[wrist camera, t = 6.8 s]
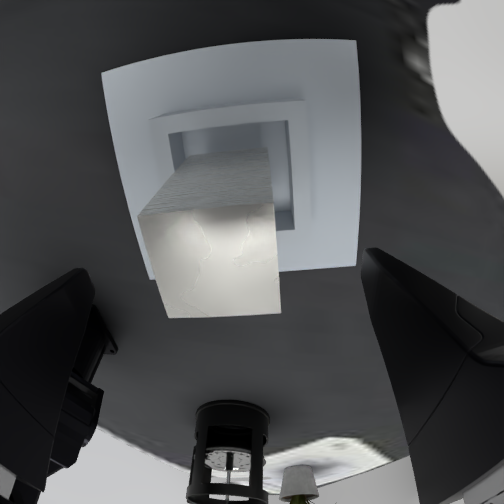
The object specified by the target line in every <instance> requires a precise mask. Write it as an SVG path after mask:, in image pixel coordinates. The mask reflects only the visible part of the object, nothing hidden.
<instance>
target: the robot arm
mask: <svg viewBox="0 0 504 504" xmlns="http://www.w3.org/2000/svg"><path fill="white" fill-rule="evenodd" d="M361 279H362V284H363V288H364V292H365V296H366V301H367V305H368V310H369V314H370V318H371V322H372V325H373V328H374V331H375V334H376V337H377V340H378V343H379V346H380V349H381V352H382V355H383V358H384V362H385V365H386V368H387V371H388V375H389V378H390V381H391V385H392V388H393V391H394V395H395V398H396V402H397V406H398V409H399V413H400V417H401V420H402V424H403V428H404V432H405V436H406V440H407V444H408V446H409V447H408V449H409V453H410V458H411V462H412V467H413V471H414V476H415V481H416V486H417V491H418V496H419V502H420V504H450V503H452V502H454V501H457V500H460V499H462V498H463V499H464V503H465V504H504V322H503V321H501V320H500V319H498V318H496V317H494V316H492V315H491V314H489V313H487V312H485V311H483V310H482V309H480V308H478V307H477V306H475V305H473V304H472V303H470V302H468V301H467V300H465V299H464V298H462V297H461V296H457V294H456V293H454V292H452V291H451V290H449V289H447V288H446V287H444V286H442V285H441V284H439V283H438V282H436V281H434V280H433V279H431V278H429V277H427V276H426V275H424V274H422V273H421V272H419V271H417V270H416V269H414V268H412V267H410V266H409V265H407V264H405V263H403V262H402V261H400V260H398V259H396V258H395V257H393V256H391V255H389V254H388V253H386V252H384V251H382V250H380V249H379V248H366V249H364V251H363V257H362V267H361ZM94 295H95V288H94V285H93V283H92V281H91V278H90V276H89V273H88V271H87V270H86V269H85V268H76V269H73V270H72V271H70V272H68V273H66V274H65V275H63V276H61V277H60V278H58V279H56V280H54V281H53V282H51V283H49V284H48V285H46V286H44V287H43V288H41V289H40V290H38V291H36V292H35V293H33V294H31V295H30V296H28V297H27V298H25V299H23V300H22V301H20V302H19V303H17V304H15V305H14V306H12V307H11V308H9V309H8V310H6V311H5V312H3V313H2V314H1V315H0V504H37V501H38V499H39V495H40V493H41V491H42V492H44V490H45V486H46V478H47V477H49V476H50V475H52V474H54V473H55V472H57V471H58V470H60V469H62V468H69V467H70V466H71V465H73V464H74V463H75V462H76V460H77V458H78V454H79V451H80V449H81V447H84V446H86V445H87V444H88V442H89V441H90V439H91V438H92V436H93V434H94V432H95V429H96V426H97V423H98V418H99V413H100V408H101V403H102V399H103V394H104V391H103V390H102V389H100V388H97V387H95V386H94V385H92V384H91V382H92V380H93V377H94V375H95V373H96V370H97V368H98V366H99V363H100V361H101V359H102V357H103V354H113V355H115V354H116V353H117V351H118V350H117V347H116V346H115V344H114V342H113V340H112V338H111V336H110V334H109V332H108V330H107V328H106V326H105V324H104V322H103V320H102V318H101V316H100V314H99V312H98V310H97V308H96V307H95V306H93V305H92V303H93V299H94Z"/></svg>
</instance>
